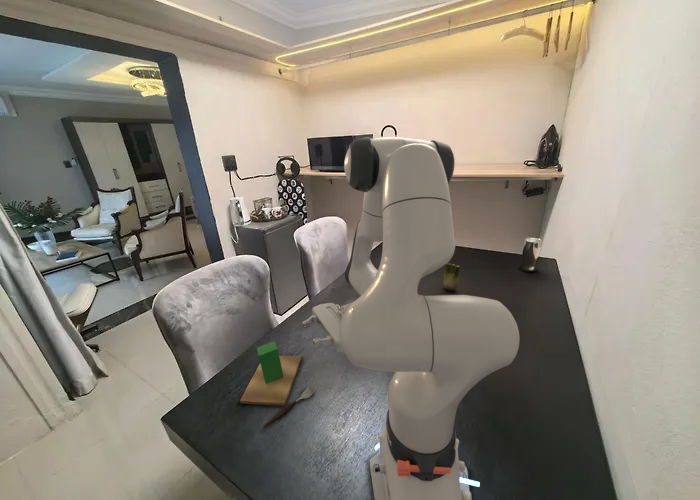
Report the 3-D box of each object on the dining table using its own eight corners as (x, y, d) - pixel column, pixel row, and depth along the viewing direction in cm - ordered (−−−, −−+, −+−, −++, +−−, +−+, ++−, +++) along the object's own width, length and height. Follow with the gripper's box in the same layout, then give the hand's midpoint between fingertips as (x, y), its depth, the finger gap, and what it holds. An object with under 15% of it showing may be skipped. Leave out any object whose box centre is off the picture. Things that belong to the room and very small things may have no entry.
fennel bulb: (458, 290, 112) (461, 265, 107) (449, 293, 110) (451, 267, 106) (449, 284, 117) (451, 260, 113) (440, 287, 115) (442, 262, 111)
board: (284, 405, 67) (284, 403, 66) (240, 403, 68) (239, 400, 68) (301, 358, 82) (301, 356, 81) (264, 357, 83) (264, 355, 83)
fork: (261, 425, 63) (259, 419, 62) (314, 383, 73) (313, 377, 72) (266, 432, 61) (264, 426, 60) (320, 388, 71) (319, 383, 70)
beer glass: (515, 268, 128) (521, 239, 122) (524, 264, 130) (530, 236, 125) (529, 273, 122) (536, 243, 116) (539, 270, 124) (546, 240, 119)
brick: (265, 384, 72) (258, 355, 69) (263, 375, 75) (256, 347, 72) (283, 376, 74) (277, 348, 71) (280, 368, 77) (274, 340, 74)
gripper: (335, 294, 89) (296, 307, 83) (367, 327, 72) (320, 346, 66) (337, 310, 91) (298, 323, 86) (367, 345, 74) (322, 365, 68)
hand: (308, 333), depth 76 cm, fingers open, 8 cm apart
